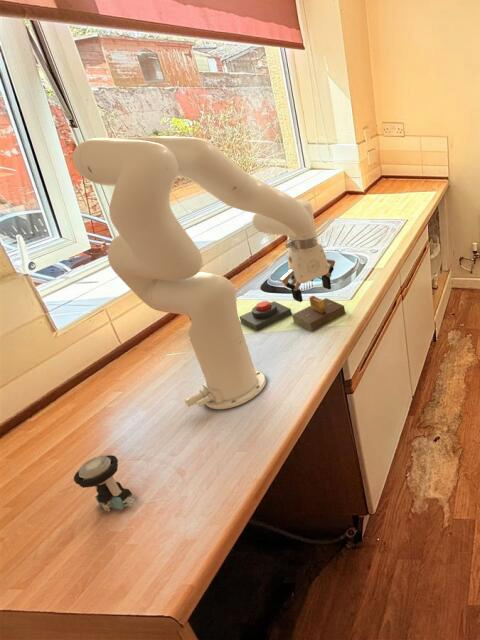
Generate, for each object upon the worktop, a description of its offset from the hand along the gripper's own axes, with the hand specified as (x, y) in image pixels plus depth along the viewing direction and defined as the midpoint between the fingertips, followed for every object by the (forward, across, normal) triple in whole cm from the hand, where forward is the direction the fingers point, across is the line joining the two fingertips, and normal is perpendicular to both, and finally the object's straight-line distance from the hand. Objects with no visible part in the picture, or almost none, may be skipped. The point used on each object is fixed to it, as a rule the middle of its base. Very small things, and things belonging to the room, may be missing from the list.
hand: (313, 294), depth 123 cm
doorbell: (+9, -8, +14) cm, 19 cm away
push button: (+11, -56, -23) cm, 61 cm away
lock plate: (+9, +1, 0) cm, 9 cm away
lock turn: (+6, +1, 0) cm, 6 cm away
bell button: (+6, -8, +14) cm, 17 cm away
